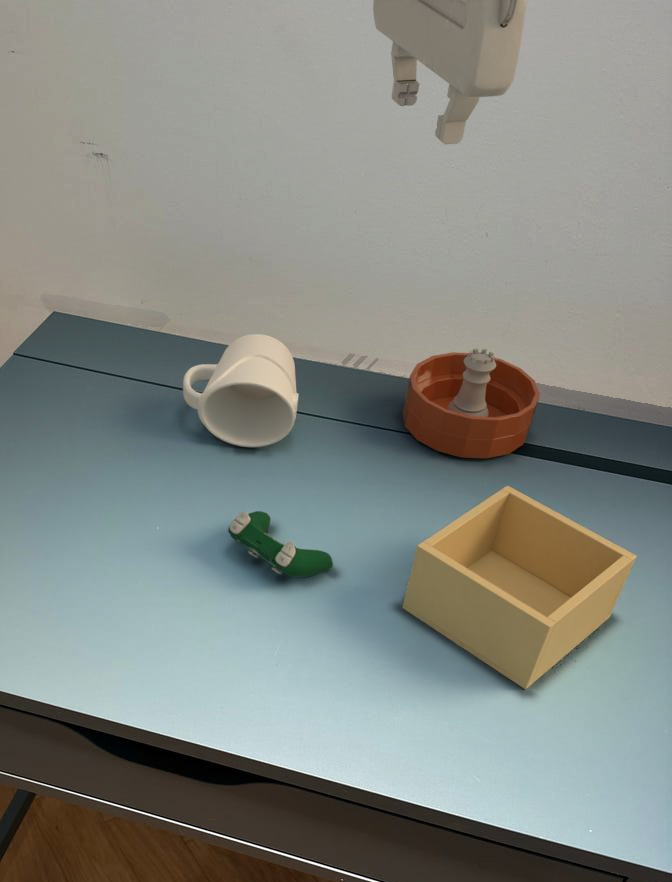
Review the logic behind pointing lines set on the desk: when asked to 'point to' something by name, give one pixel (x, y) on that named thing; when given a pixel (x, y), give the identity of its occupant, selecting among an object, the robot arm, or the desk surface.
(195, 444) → the desk surface
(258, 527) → the green two-tone curved device
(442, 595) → the bin
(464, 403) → the rook chess piece
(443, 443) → the bowl
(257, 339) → the mug
